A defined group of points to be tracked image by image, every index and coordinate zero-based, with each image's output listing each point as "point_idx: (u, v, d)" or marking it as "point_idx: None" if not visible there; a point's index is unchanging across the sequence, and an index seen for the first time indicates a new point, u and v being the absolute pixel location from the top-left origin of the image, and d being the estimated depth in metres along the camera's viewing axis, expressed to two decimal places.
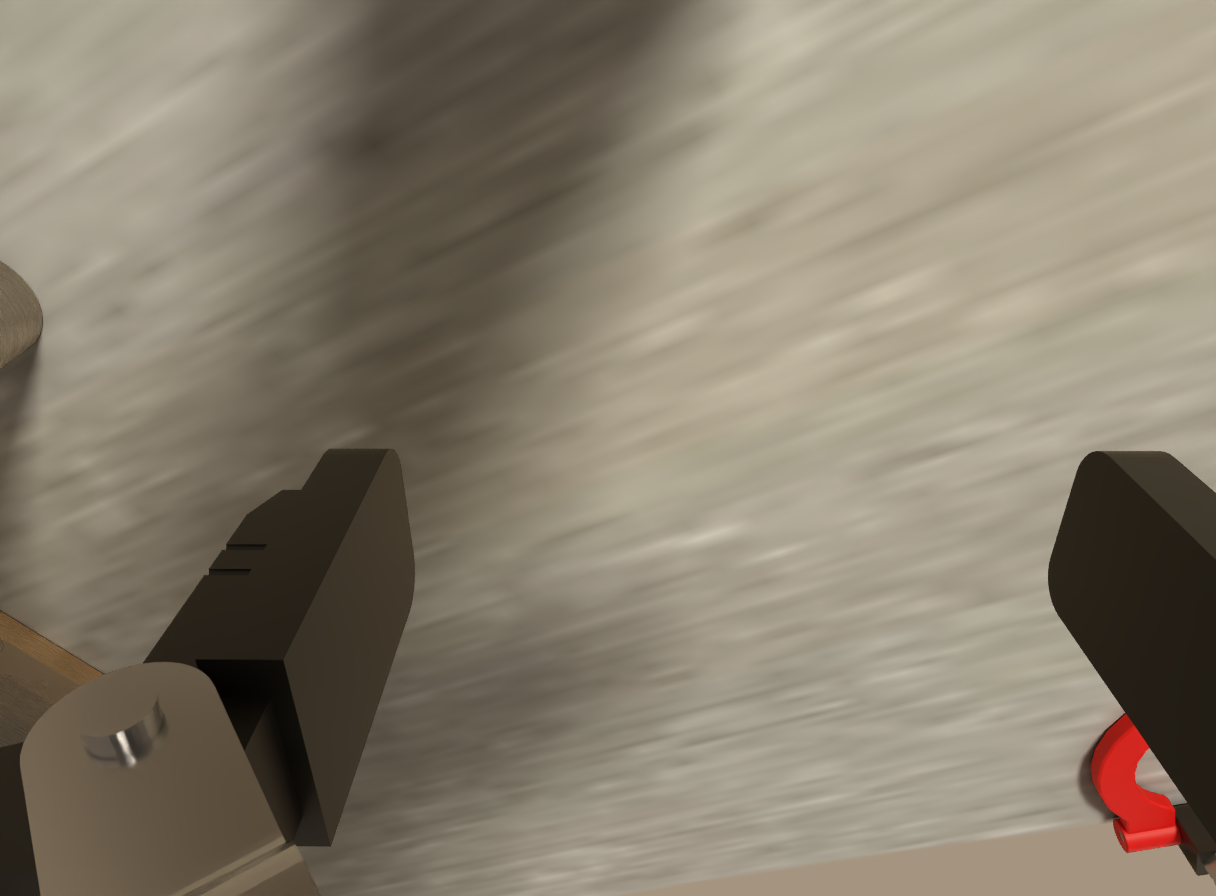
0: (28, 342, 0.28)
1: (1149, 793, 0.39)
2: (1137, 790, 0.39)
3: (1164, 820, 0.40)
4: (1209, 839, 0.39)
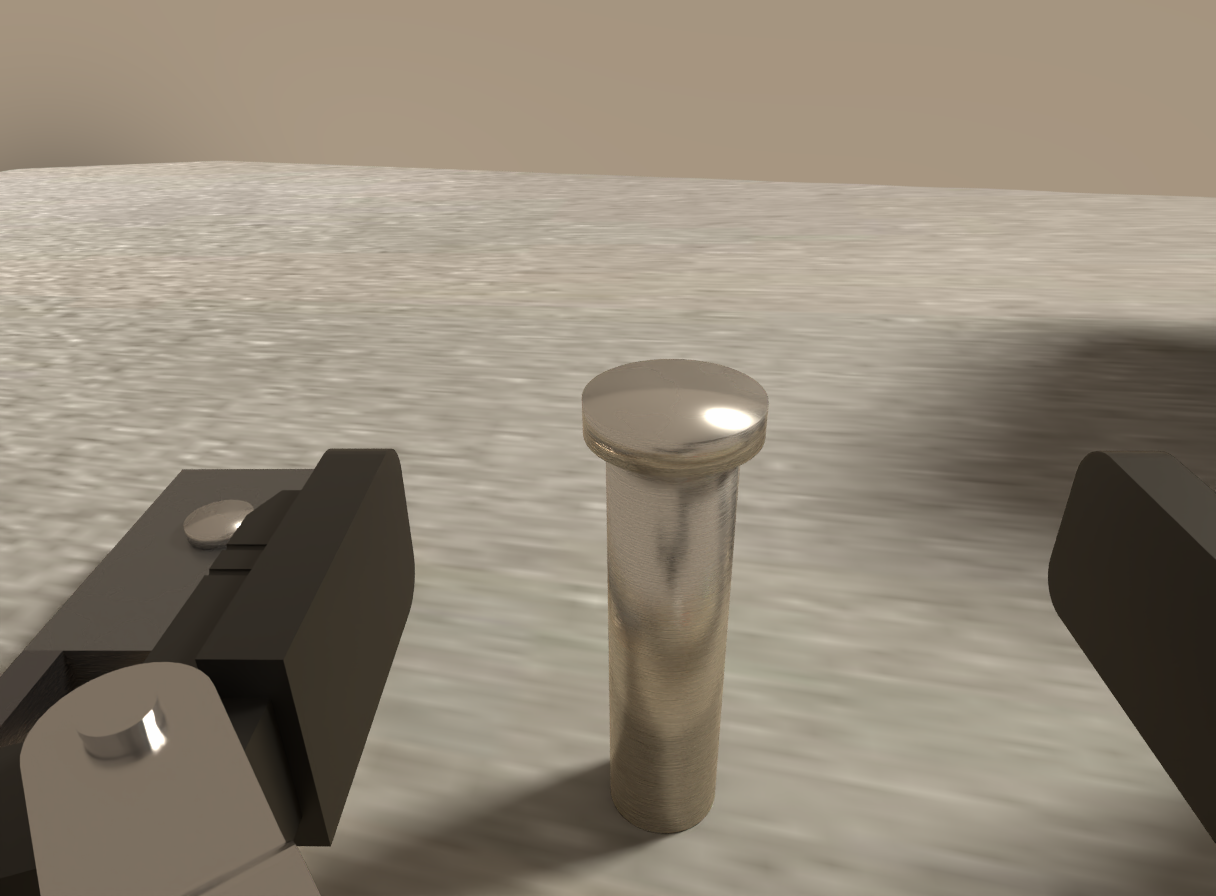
0: (677, 819, 0.27)
1: None
2: None
3: None
4: None
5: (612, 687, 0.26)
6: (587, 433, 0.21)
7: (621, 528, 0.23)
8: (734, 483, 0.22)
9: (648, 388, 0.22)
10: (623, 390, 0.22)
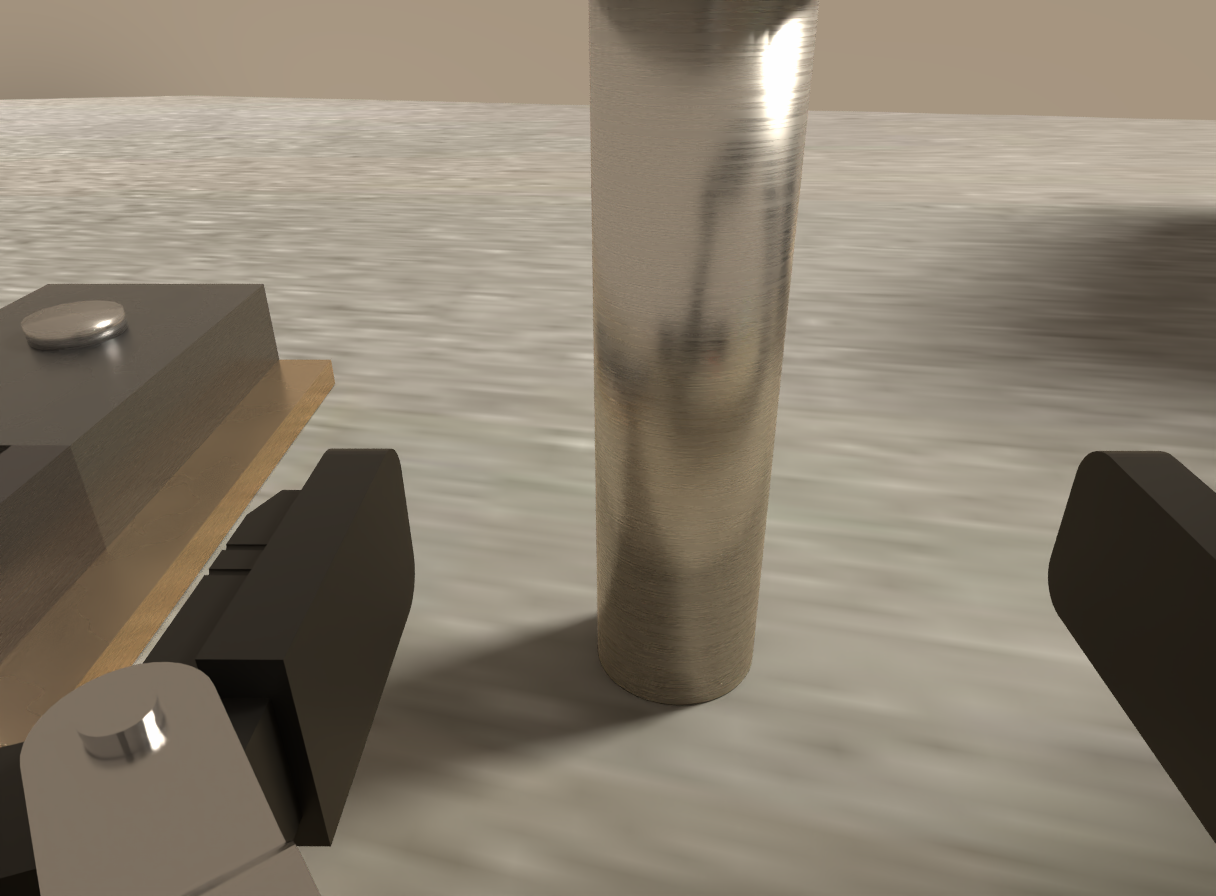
0: (698, 681, 0.18)
1: None
2: None
3: None
4: None
5: (600, 462, 0.17)
6: None
7: (613, 129, 0.13)
8: (809, 38, 0.13)
9: None
10: None
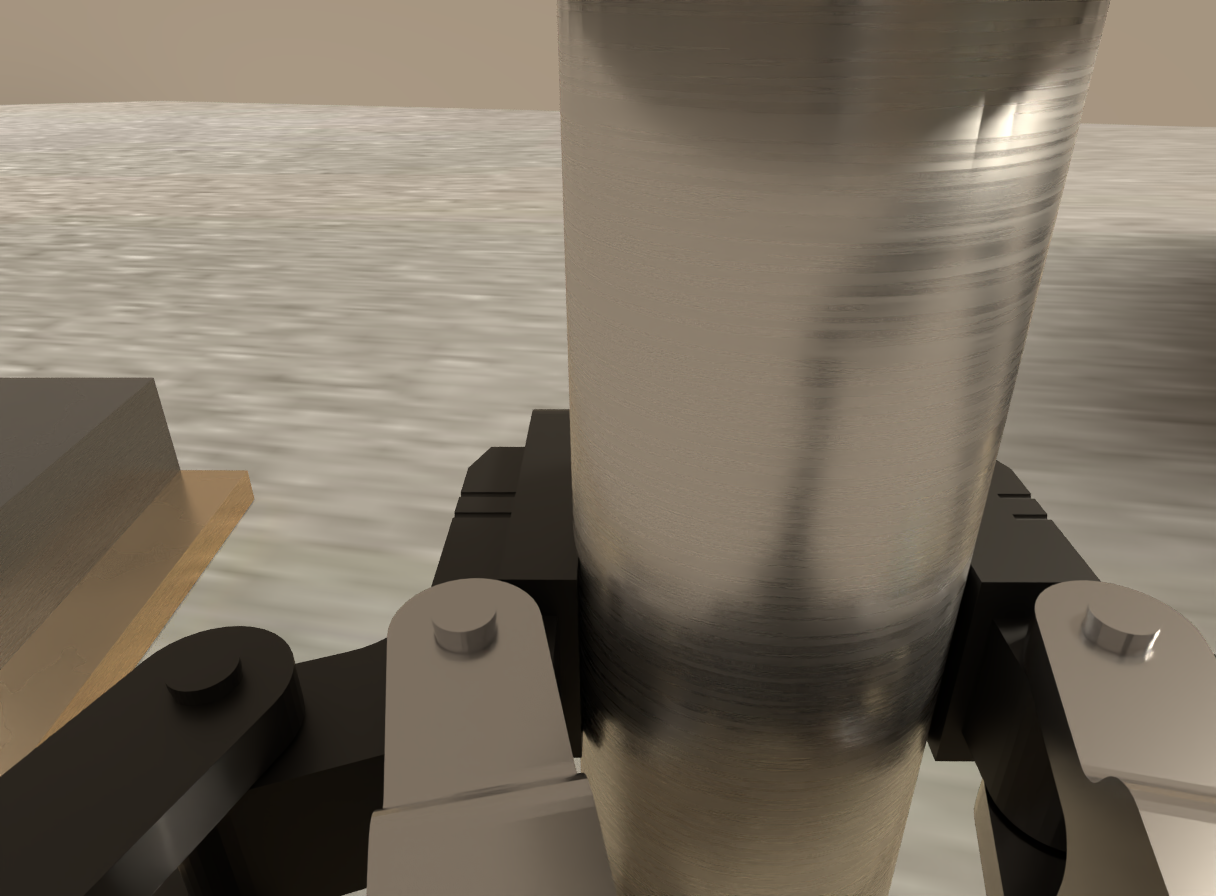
0: None
1: None
2: None
3: None
4: None
5: None
6: None
7: (615, 316, 0.06)
8: None
9: None
10: None
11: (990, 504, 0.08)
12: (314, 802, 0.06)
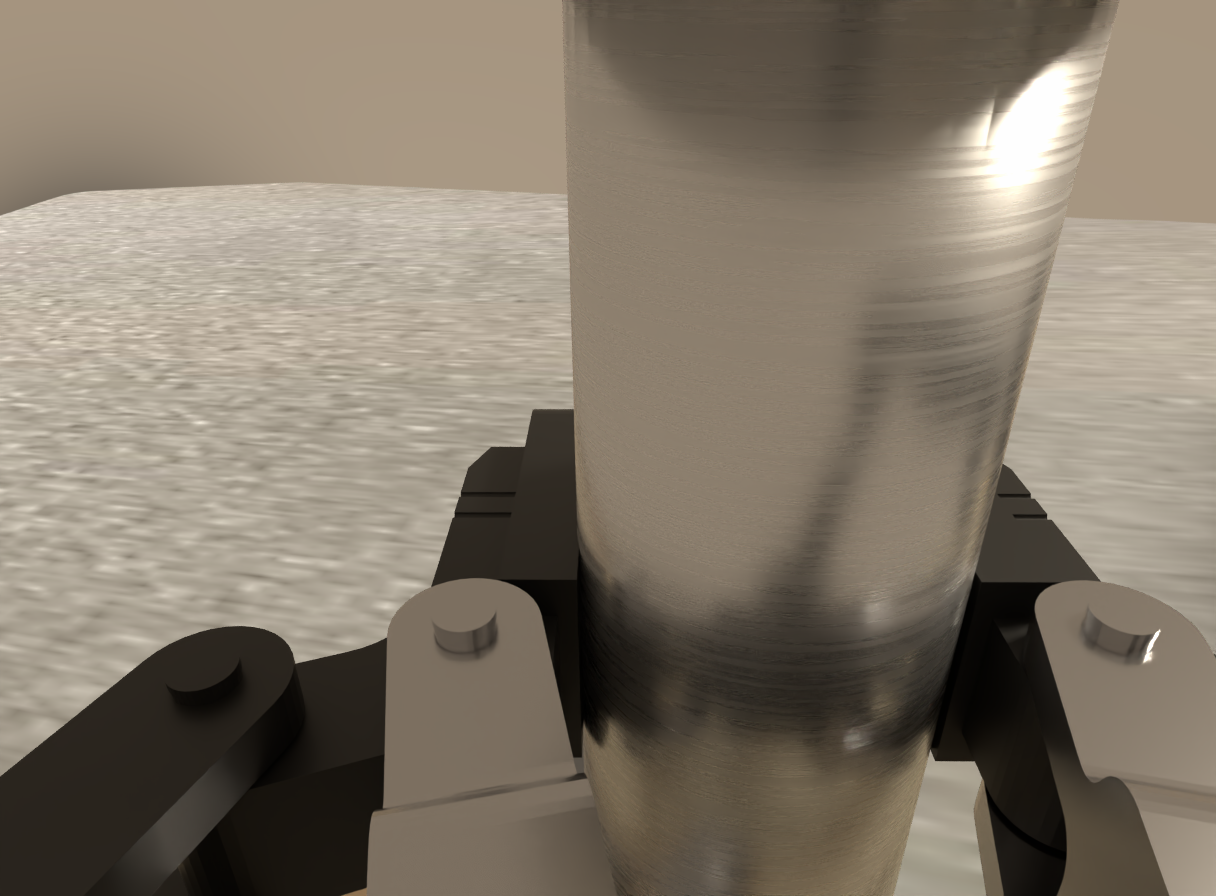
0: None
1: None
2: None
3: None
4: None
5: None
6: None
7: (619, 323, 0.06)
8: None
9: None
10: None
11: None
12: (314, 803, 0.06)
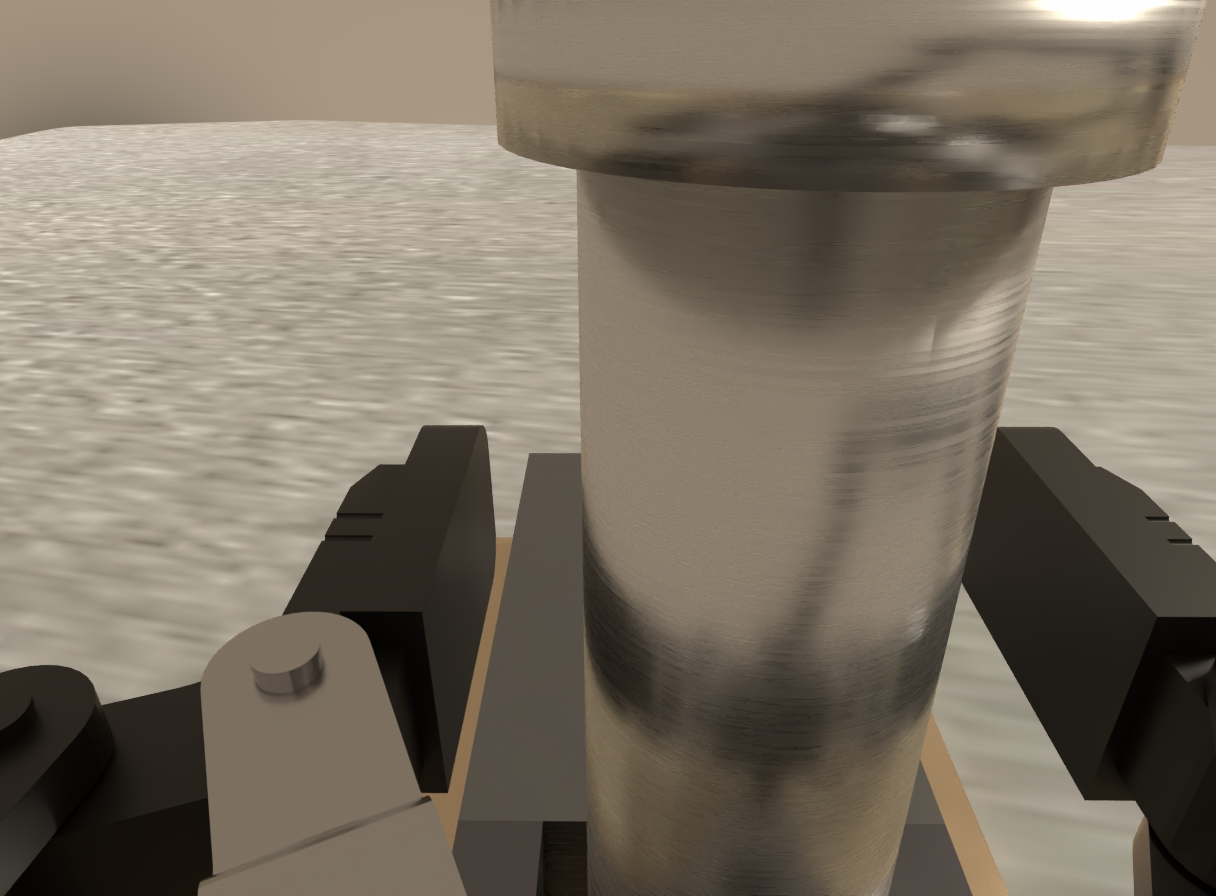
0: None
1: None
2: None
3: None
4: None
5: None
6: (504, 92, 0.06)
7: (625, 471, 0.07)
8: (1024, 309, 0.06)
9: None
10: None
11: (1143, 531, 0.08)
12: (135, 832, 0.06)
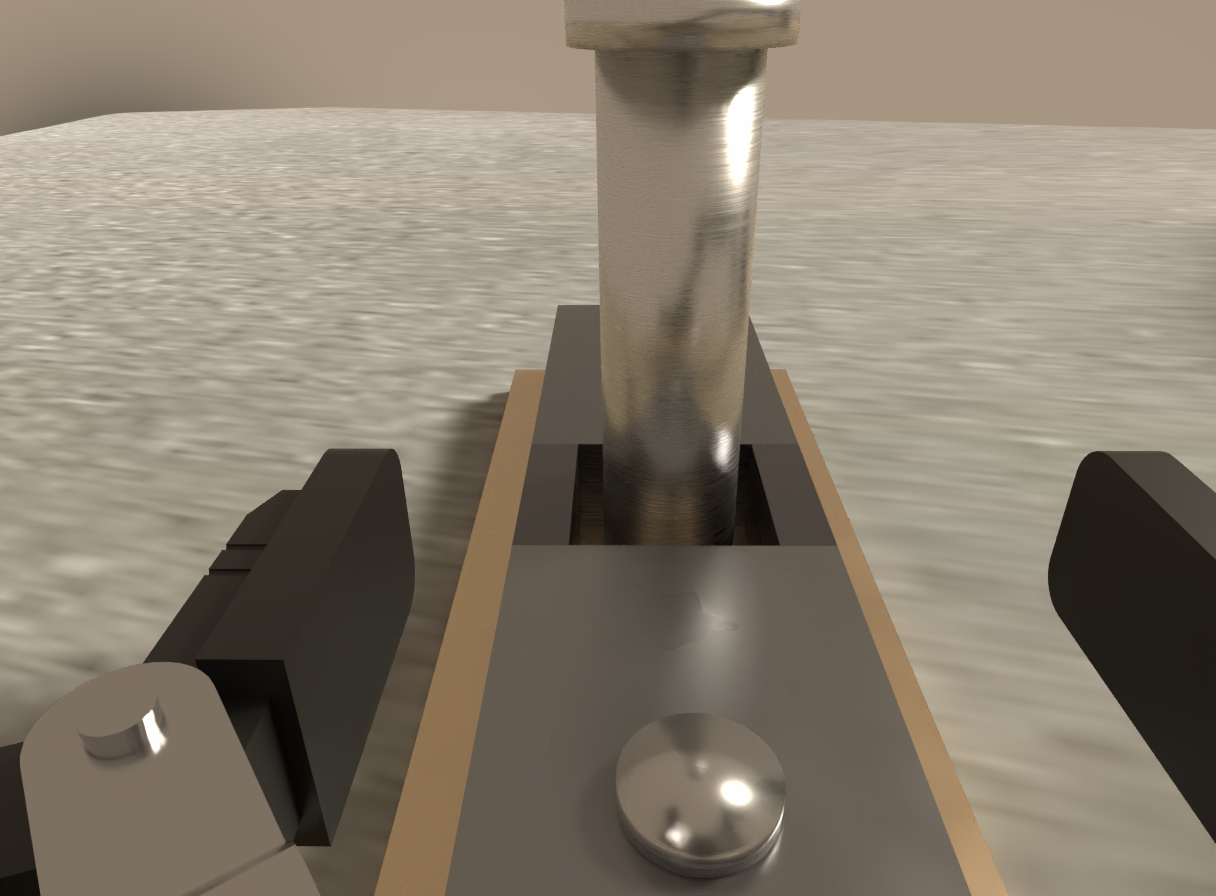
0: None
1: None
2: None
3: None
4: None
5: (606, 425, 0.21)
6: (571, 27, 0.17)
7: (614, 172, 0.18)
8: (758, 105, 0.17)
9: None
10: None
11: None
12: None
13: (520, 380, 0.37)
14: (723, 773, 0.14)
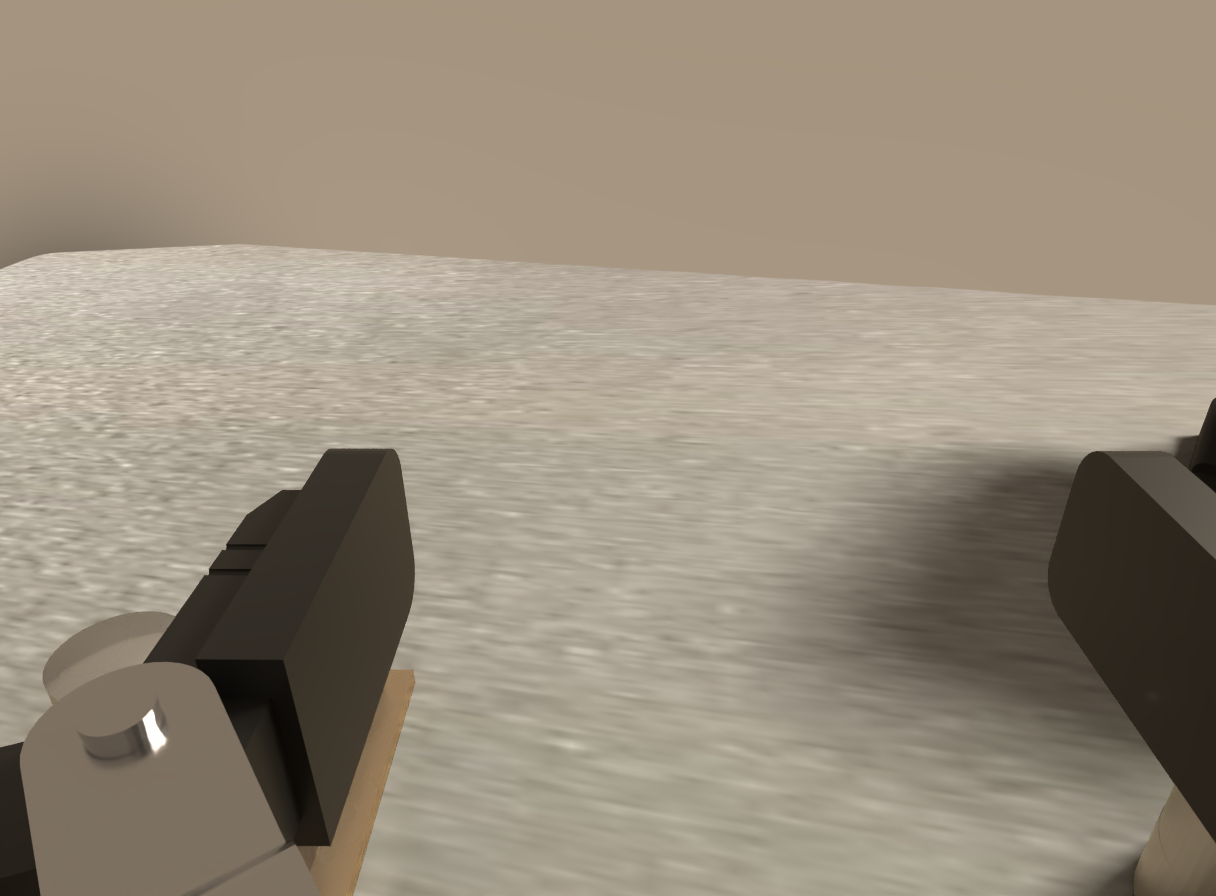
0: None
1: None
2: None
3: None
4: None
5: None
6: None
7: None
8: None
9: (107, 644, 0.32)
10: (88, 646, 0.32)
11: None
12: None
13: None
14: None
